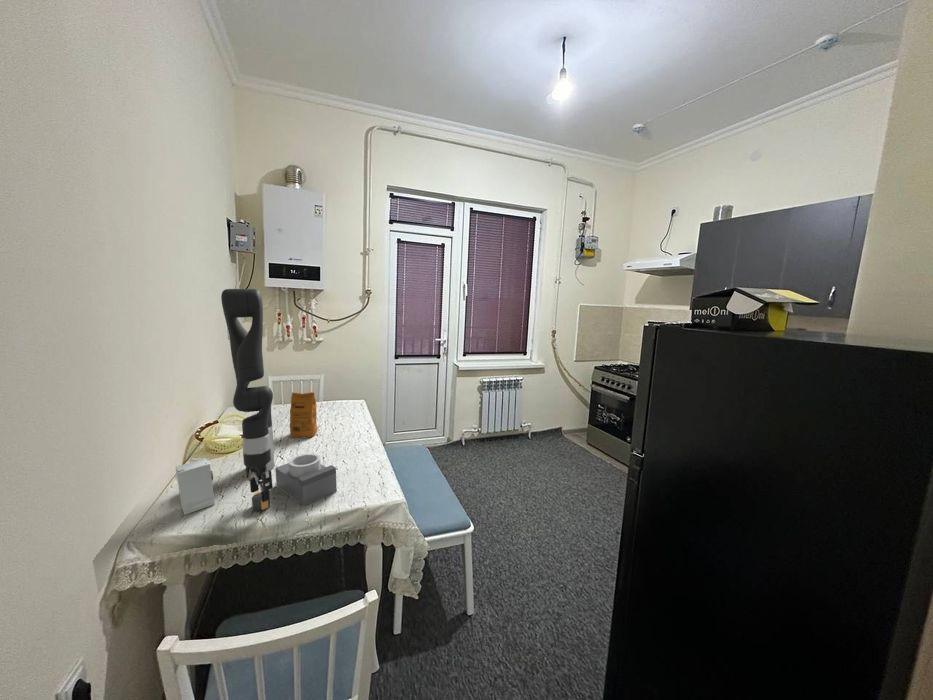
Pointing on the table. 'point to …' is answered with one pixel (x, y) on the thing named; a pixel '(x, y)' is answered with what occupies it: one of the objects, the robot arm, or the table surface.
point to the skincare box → (195, 485)
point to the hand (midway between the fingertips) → (260, 496)
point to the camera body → (306, 478)
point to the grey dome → (259, 503)
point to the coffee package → (303, 415)
